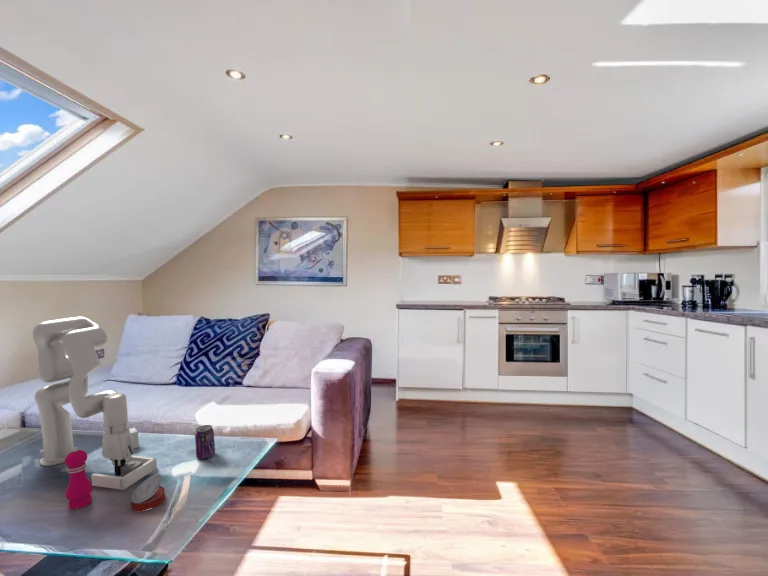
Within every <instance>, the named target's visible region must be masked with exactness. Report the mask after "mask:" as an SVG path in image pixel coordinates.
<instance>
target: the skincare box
mask: <svg viewBox="0 0 768 576" xmlns="http://www.w3.org/2000/svg"><path fill="white" fill-rule="evenodd" d="M129 430H130V433H131V437H132V443H133V450H135V449H137V448H139V447H140V440H139V439H140V438H139V432H138V430H137V428H135V427H132V428H129Z"/></svg>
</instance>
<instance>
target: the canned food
mask: <svg viewBox="0 0 768 576" xmlns="http://www.w3.org/2000/svg"><path fill="white" fill-rule="evenodd" d="M161 481H162V475H161V474H159V473H156V474H153V475H150V477H147V478H146V479H145V480H143V481H142V482H141V483H140V484H139V485H138V486H137V487H136V488H135V489H134V491H133V492H132V495H131V497H130V504H131V506H130V507H131V508H132V509H131V510H132V511H134V512H137V513H138V511H140V513H141V511H142V512H144V511H143V510H146V509H149V508H153V509H155V508H156V507H159V506H160V505H162V504H163V503H164V502H165V499H166V493H165V488H164V487H163V486H161Z"/></svg>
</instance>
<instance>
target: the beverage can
mask: <svg viewBox="0 0 768 576" xmlns="http://www.w3.org/2000/svg"><path fill="white" fill-rule="evenodd" d="M214 432H215V431H214V429H213V426H212V425H211V424H205V425H201V426H198V427H196V428H195V433H194V439H195V440H194V441H195V442H194V443H195V457H196V458H197V459H200V460H206V459H205V458H207V459H209V458H208V457H210V458H211V457H213V456H214V455H215V454H216V444H215V433H214ZM212 455H213V456H212Z"/></svg>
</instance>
